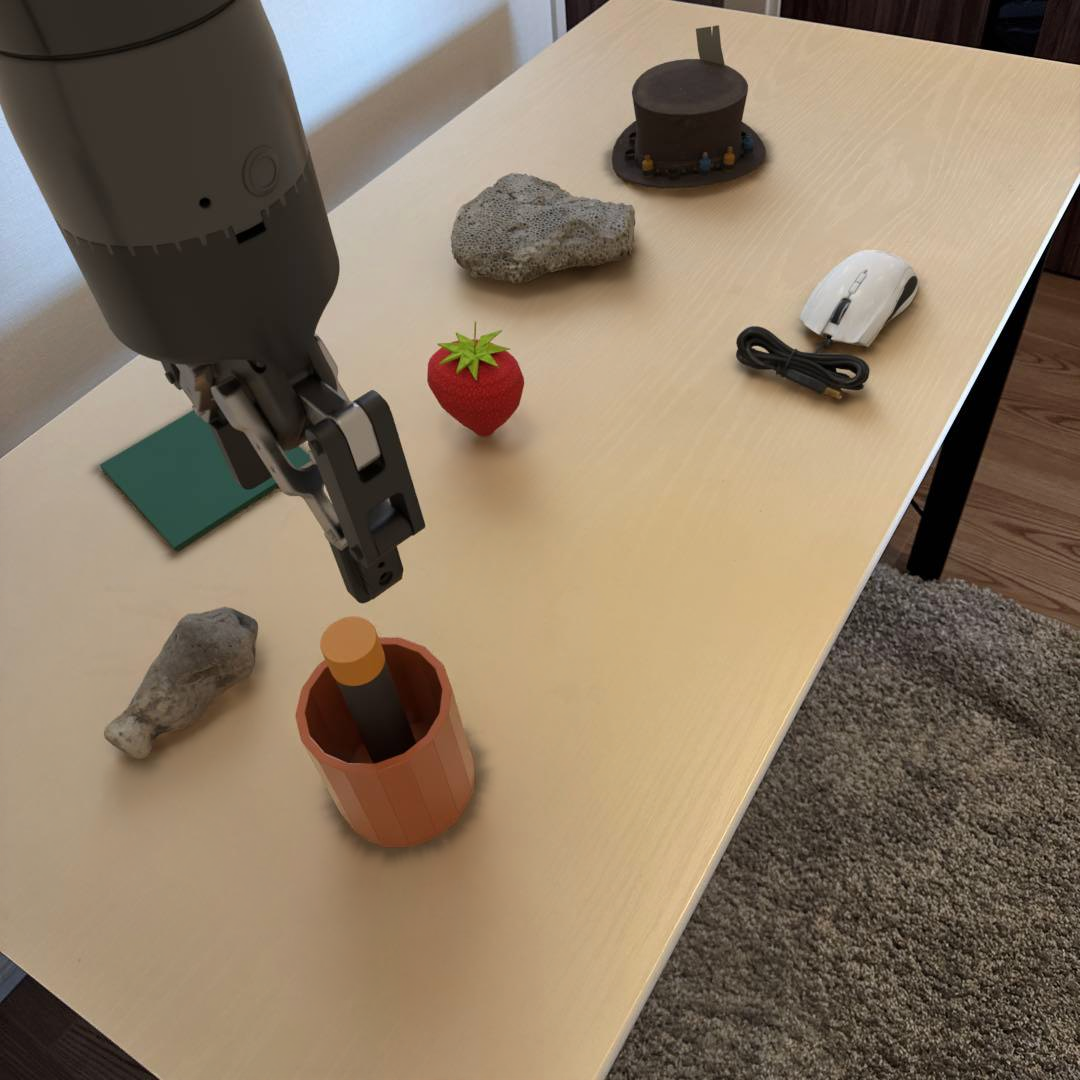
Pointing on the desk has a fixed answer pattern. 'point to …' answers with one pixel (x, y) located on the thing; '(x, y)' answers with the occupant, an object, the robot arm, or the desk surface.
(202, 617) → the stone
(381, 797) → the pen cup
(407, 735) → the marker
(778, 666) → the desk surface
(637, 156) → the top hat
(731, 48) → the desk surface
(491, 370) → the strawberry
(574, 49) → the desk surface
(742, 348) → the computer mouse
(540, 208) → the rock
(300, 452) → the mat
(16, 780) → the desk surface
